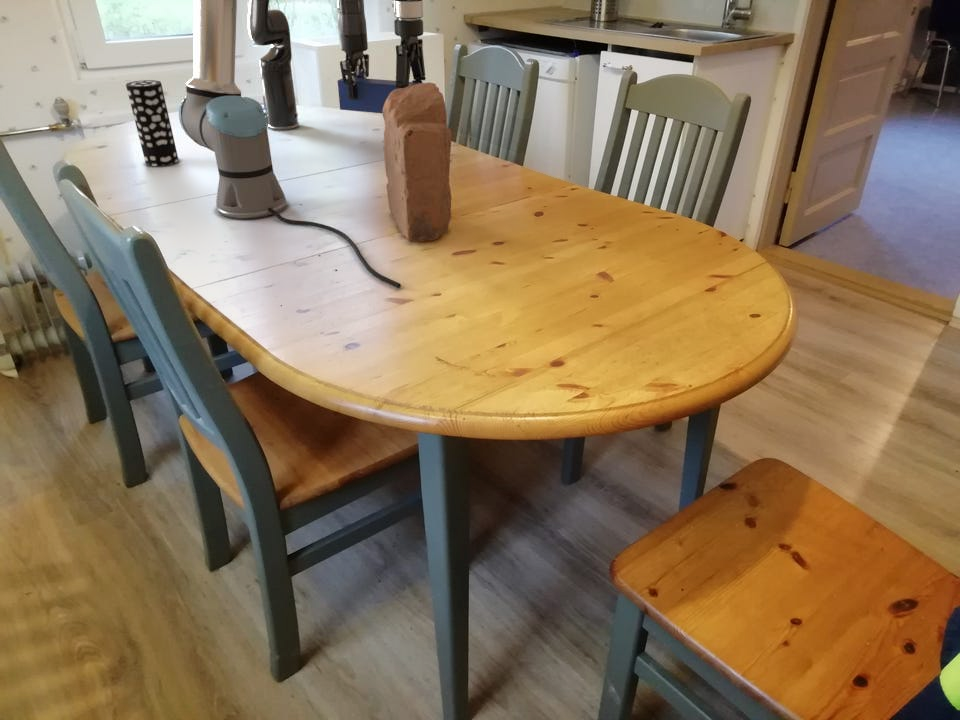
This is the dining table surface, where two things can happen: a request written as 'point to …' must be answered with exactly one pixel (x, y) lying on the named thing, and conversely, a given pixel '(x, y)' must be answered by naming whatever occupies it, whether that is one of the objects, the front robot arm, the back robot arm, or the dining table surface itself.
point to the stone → (418, 161)
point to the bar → (367, 94)
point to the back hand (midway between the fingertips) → (357, 96)
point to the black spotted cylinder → (152, 122)
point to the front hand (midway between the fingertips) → (412, 108)
